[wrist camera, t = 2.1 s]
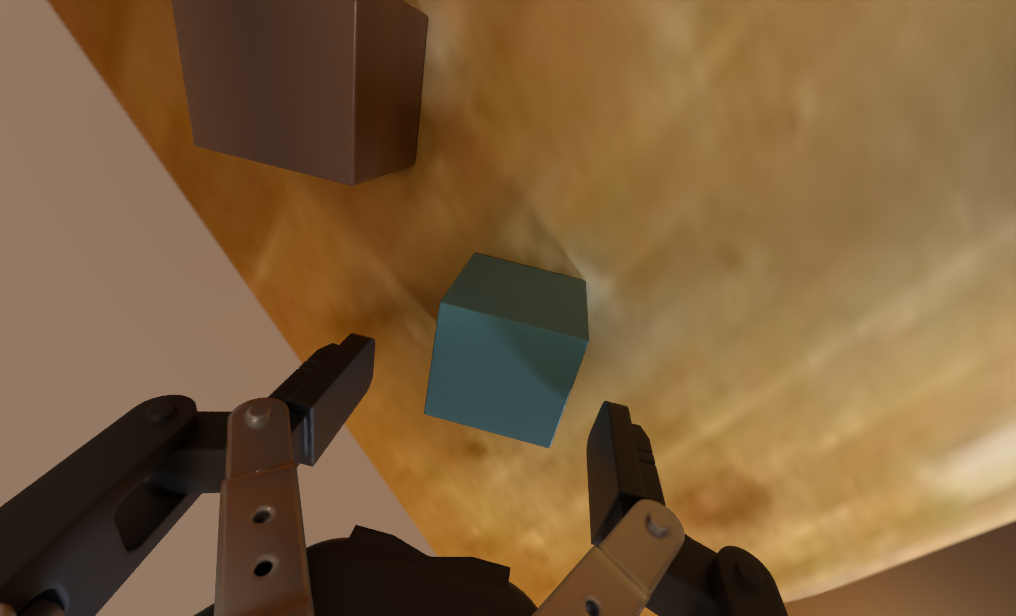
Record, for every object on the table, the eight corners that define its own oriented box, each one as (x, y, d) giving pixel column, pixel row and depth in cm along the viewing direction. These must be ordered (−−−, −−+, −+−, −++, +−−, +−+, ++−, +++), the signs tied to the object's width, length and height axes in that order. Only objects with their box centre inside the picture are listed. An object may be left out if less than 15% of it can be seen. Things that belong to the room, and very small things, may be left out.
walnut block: (428, 15, 14) (358, -29, 9) (415, 164, 16) (353, 186, 12) (291, -17, 14) (157, -75, 9) (297, 135, 16) (192, 146, 12)
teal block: (586, 280, 17) (589, 340, 13) (555, 371, 19) (549, 449, 15) (474, 252, 17) (439, 301, 13) (457, 345, 20) (423, 414, 15)
